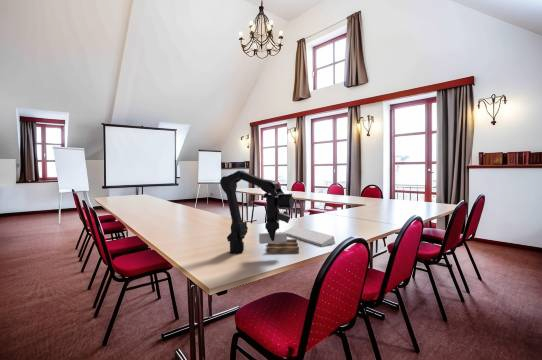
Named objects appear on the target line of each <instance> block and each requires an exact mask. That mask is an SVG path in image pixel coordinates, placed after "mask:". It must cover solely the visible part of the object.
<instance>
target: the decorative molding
mask: <svg viewBox="0 0 542 360" xmlns="http://www.w3.org/2000/svg"><path fill="white" fill-rule="evenodd" d="M284 232H286V233H287V237H291V238H293V239H298V240H301V241H304V242H308V243H311V244H312V245H317V246H320V247H323V248H324V247H327V246H330V245H334V244H336V240H335V236H334V235H331V234H327V233H323V232H319V231H315V230H311V229H308V228H305V227H301V226H296V225H294V226H292V227H290V228H289V229H287V230H284Z"/></svg>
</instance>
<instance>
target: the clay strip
mask: <svg viewBox="0 0 542 360" xmlns="http://www.w3.org/2000/svg"><path fill="white" fill-rule="evenodd" d="M287 239H288V235H287V233H286V232H285V231H282V232H281V231H280V232H276V233H275V238H274V241H272V240H271V238H270V236H269V233H268V232H265V233H258V242H259V244H260V245H262V244H268V243H281V242H287Z"/></svg>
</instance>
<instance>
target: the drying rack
mask: <svg viewBox="0 0 542 360" xmlns="http://www.w3.org/2000/svg"><path fill="white" fill-rule="evenodd" d="M266 252H267V254H295V253H296V254H298V253H300V246H299V243H298V240H297V238H287V242H281V243H267V247H266Z"/></svg>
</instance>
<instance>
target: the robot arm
mask: <svg viewBox="0 0 542 360" xmlns="http://www.w3.org/2000/svg"><path fill="white" fill-rule="evenodd" d="M240 181H244V182H247V183H249V184H252V185H254V186H257V187H259V188H260V189H261V191H263V192H265V193H264V194H263V195H262V196H261V198H262V199H266V201H265V203H266V210H265V212H266V214H265V215H266V220H265V221H266V222H265V230H266V232H267V233H269V236H270V238H271V240H272V241H274V238H275V233H277V232H276V231H277V230H279V229H280V221H281V222H285V223H286V224H289V222H290V220H291V215H290V214H288V211H285V210H284V211H283V212H282V211H281V212H280V210H279V208H280V209H294V206H295V199H294V197H293V193H284V191H283V190H282V188H281V186H280V183H279V182H278V181H276V180H273V179H265V178H262V177H259V176H257V175H254V174H252V173H249V172H246V171H245V170H244V169H243V170H237V171H235V172H233V173H230V174H229V175H226V176H222V177H221V179H220V180H219V184H220V187H221V189H222V190H223V192H224V193H225V194H226V199H227V203H228V209H229V213H230V214H229V215H230V218H231V225H230V233H229V234H228V235H227V236H226V239H227V242H229V252H228V253H229V254H242V253H243V252H244V251H245V245H244V244H245V242H244V239H245V237H246V235H247V233H248V230H249V229H248V224H247V221H243V219H242V216H241V211H240V210H241V209H240V206H239V203H238V197H237V187H238V185H237V184H238V183H239V182H240Z"/></svg>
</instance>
